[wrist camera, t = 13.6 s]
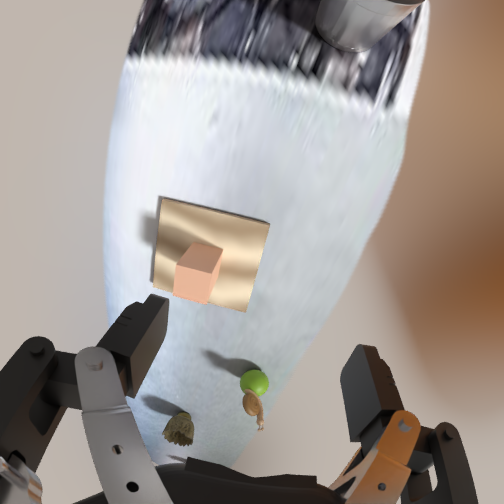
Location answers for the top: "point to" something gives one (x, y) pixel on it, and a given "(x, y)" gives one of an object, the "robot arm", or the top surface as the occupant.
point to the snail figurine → (254, 393)
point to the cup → (180, 429)
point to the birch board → (216, 235)
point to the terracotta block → (197, 272)
